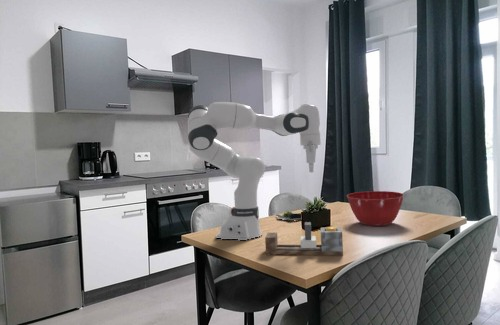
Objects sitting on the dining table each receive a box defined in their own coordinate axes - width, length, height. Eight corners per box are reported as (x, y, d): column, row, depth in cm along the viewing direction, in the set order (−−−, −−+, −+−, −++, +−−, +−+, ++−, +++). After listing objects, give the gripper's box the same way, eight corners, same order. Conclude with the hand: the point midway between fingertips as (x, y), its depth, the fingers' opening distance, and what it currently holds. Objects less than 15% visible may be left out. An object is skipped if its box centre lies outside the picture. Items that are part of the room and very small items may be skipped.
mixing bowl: (357, 231, 174) (356, 199, 173) (341, 219, 202) (340, 192, 202) (415, 228, 175) (414, 196, 174) (390, 216, 203) (389, 189, 202)
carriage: (300, 248, 141) (299, 225, 141) (301, 243, 148) (300, 221, 148) (316, 248, 140) (315, 225, 140) (316, 243, 147) (315, 221, 147)
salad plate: (267, 220, 212) (267, 212, 212) (285, 214, 225) (285, 207, 225) (295, 223, 199) (294, 215, 199) (312, 217, 212) (311, 210, 212)
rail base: (266, 254, 143) (264, 232, 143) (268, 249, 151) (267, 227, 151) (343, 255, 138) (342, 232, 138) (341, 249, 146) (340, 227, 145)
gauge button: (326, 240, 141) (326, 229, 141) (326, 237, 145) (325, 226, 144) (336, 240, 140) (336, 229, 140) (336, 237, 144) (335, 226, 144)
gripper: (317, 140, 149) (319, 173, 149) (317, 141, 169) (318, 170, 169) (302, 141, 150) (303, 174, 150) (303, 141, 170) (304, 170, 170)
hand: (311, 172), depth 160 cm, fingers closed
